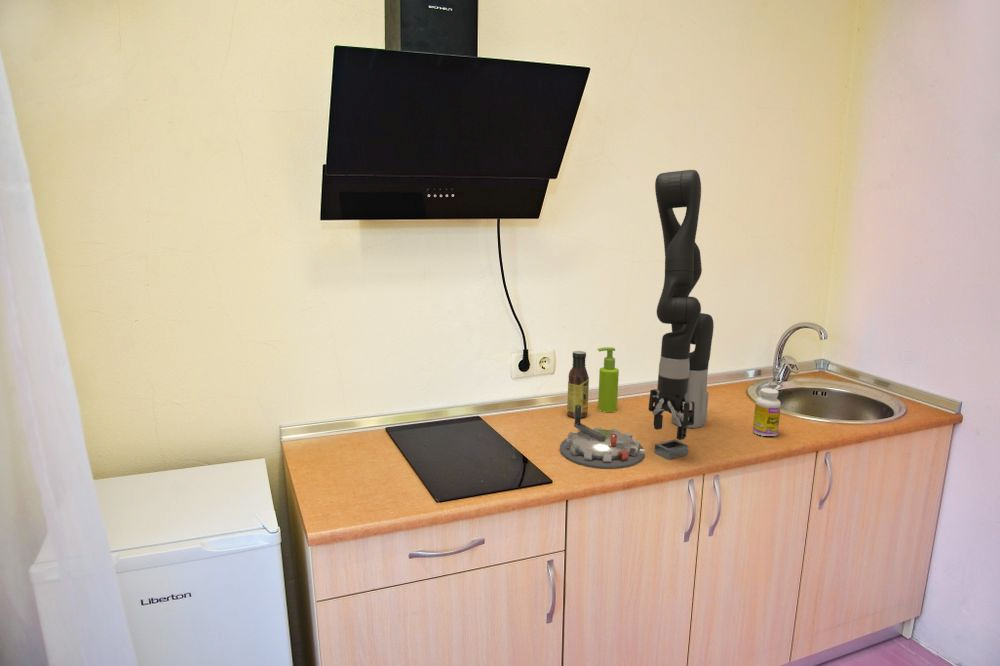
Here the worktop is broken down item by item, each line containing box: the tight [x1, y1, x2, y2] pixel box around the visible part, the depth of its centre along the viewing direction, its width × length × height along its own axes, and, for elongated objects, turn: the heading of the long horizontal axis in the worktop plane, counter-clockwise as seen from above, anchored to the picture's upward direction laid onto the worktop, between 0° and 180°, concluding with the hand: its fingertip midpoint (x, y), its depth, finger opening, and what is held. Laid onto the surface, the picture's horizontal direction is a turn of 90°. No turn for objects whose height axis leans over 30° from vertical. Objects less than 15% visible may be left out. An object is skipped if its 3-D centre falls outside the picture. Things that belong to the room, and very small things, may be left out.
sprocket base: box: [559, 438, 646, 470], centre depth 171 cm, size 22×22×2 cm
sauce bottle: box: [566, 350, 590, 419], centre depth 196 cm, size 6×6×20 cm
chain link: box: [653, 439, 689, 461], centre depth 169 cm, size 7×5×2 cm
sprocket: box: [565, 405, 640, 462], centre depth 171 cm, size 19×21×8 cm
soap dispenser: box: [596, 346, 620, 413], centre depth 201 cm, size 6×7×20 cm
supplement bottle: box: [752, 387, 782, 437], centre depth 183 cm, size 7×7×13 cm
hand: (668, 434), depth 168 cm, fingers open, 8 cm apart
